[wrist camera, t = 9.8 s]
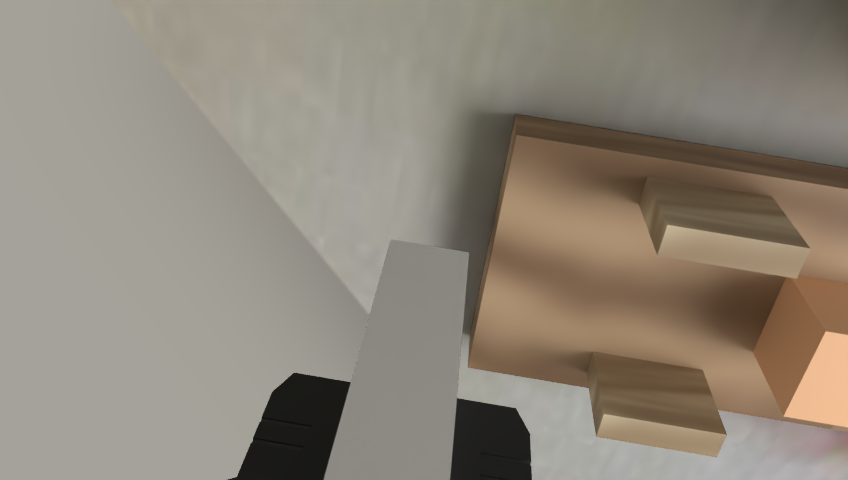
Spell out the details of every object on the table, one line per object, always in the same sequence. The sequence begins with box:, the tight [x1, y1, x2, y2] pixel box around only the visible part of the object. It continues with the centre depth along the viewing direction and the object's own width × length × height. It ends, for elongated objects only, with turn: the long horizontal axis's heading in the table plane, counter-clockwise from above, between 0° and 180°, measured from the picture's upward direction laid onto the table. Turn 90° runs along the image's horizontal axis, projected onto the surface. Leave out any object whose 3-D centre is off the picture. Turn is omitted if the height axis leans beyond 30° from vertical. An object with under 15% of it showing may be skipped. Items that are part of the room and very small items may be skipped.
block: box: [753, 275, 848, 427], centre depth 36 cm, size 5×5×5 cm
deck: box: [468, 114, 848, 457], centre depth 37 cm, size 14×28×8 cm, turn 82°
